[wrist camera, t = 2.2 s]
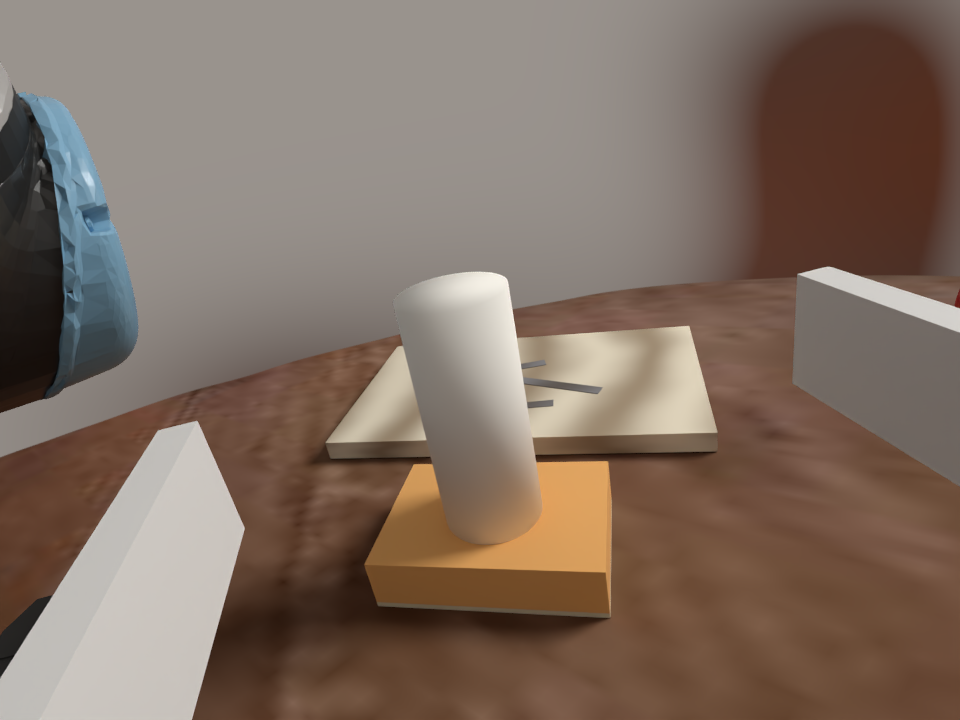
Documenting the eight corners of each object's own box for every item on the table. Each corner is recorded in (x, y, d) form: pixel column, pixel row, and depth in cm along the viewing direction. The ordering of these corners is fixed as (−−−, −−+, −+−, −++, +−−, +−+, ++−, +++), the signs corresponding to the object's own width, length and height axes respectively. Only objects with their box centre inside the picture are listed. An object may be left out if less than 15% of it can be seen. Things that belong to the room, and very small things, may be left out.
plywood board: (330, 458, 37) (324, 442, 37) (400, 359, 49) (397, 346, 49) (717, 451, 31) (717, 431, 31) (689, 340, 44) (688, 325, 43)
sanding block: (378, 606, 26) (287, 339, 20) (423, 501, 32) (363, 274, 26) (610, 619, 23) (578, 316, 18) (611, 502, 29) (588, 250, 24)
